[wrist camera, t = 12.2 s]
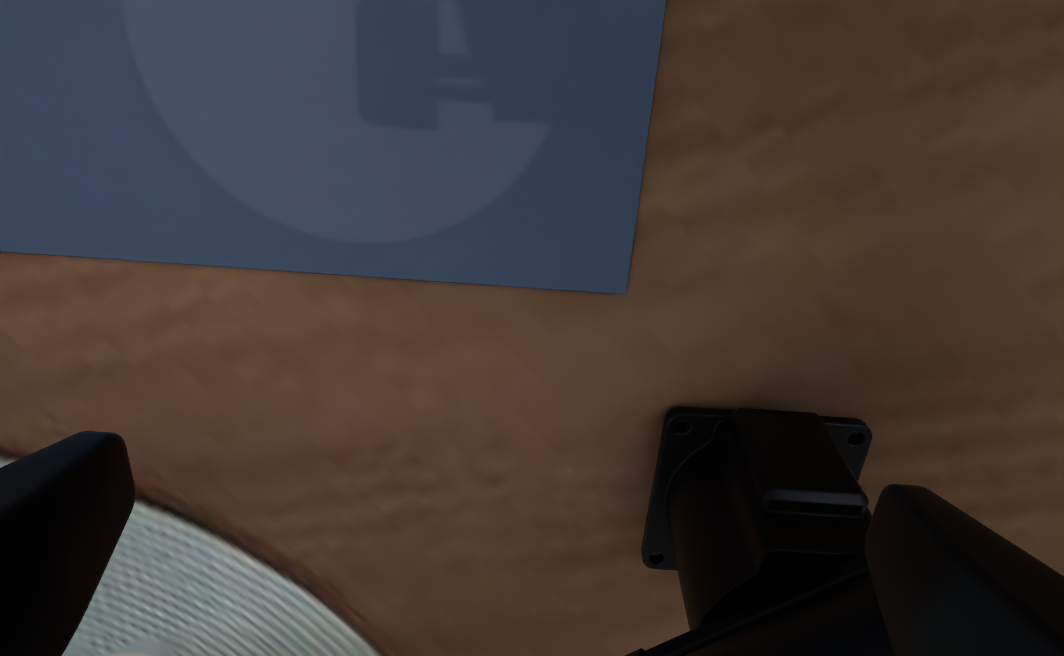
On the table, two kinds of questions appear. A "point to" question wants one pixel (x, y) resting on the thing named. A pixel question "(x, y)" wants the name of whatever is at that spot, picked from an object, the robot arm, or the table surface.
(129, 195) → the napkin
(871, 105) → the table surface
